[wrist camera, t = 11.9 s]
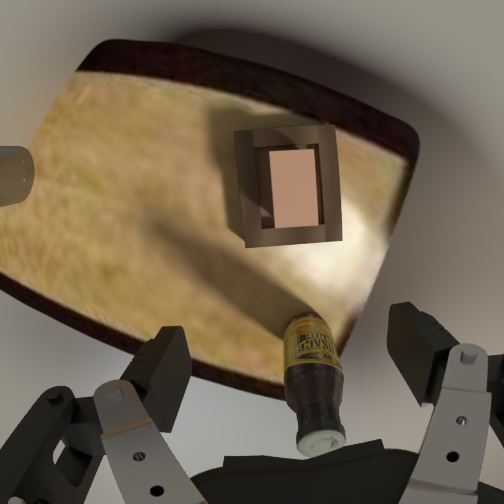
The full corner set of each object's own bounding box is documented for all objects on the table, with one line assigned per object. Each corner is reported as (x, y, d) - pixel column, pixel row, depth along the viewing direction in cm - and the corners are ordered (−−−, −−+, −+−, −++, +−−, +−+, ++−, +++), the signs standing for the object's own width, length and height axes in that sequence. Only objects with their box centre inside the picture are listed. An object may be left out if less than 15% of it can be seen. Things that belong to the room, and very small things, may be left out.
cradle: (246, 243, 36) (245, 248, 34) (236, 134, 33) (233, 131, 31) (337, 236, 36) (342, 240, 33) (330, 128, 32) (334, 124, 30)
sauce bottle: (336, 319, 38) (381, 428, 19) (315, 355, 40) (339, 470, 21) (292, 302, 38) (311, 414, 19) (272, 341, 40) (274, 459, 20)
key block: (269, 156, 33) (269, 151, 26) (304, 154, 32) (313, 149, 26) (273, 217, 34) (275, 228, 28) (308, 215, 34) (318, 225, 27)
